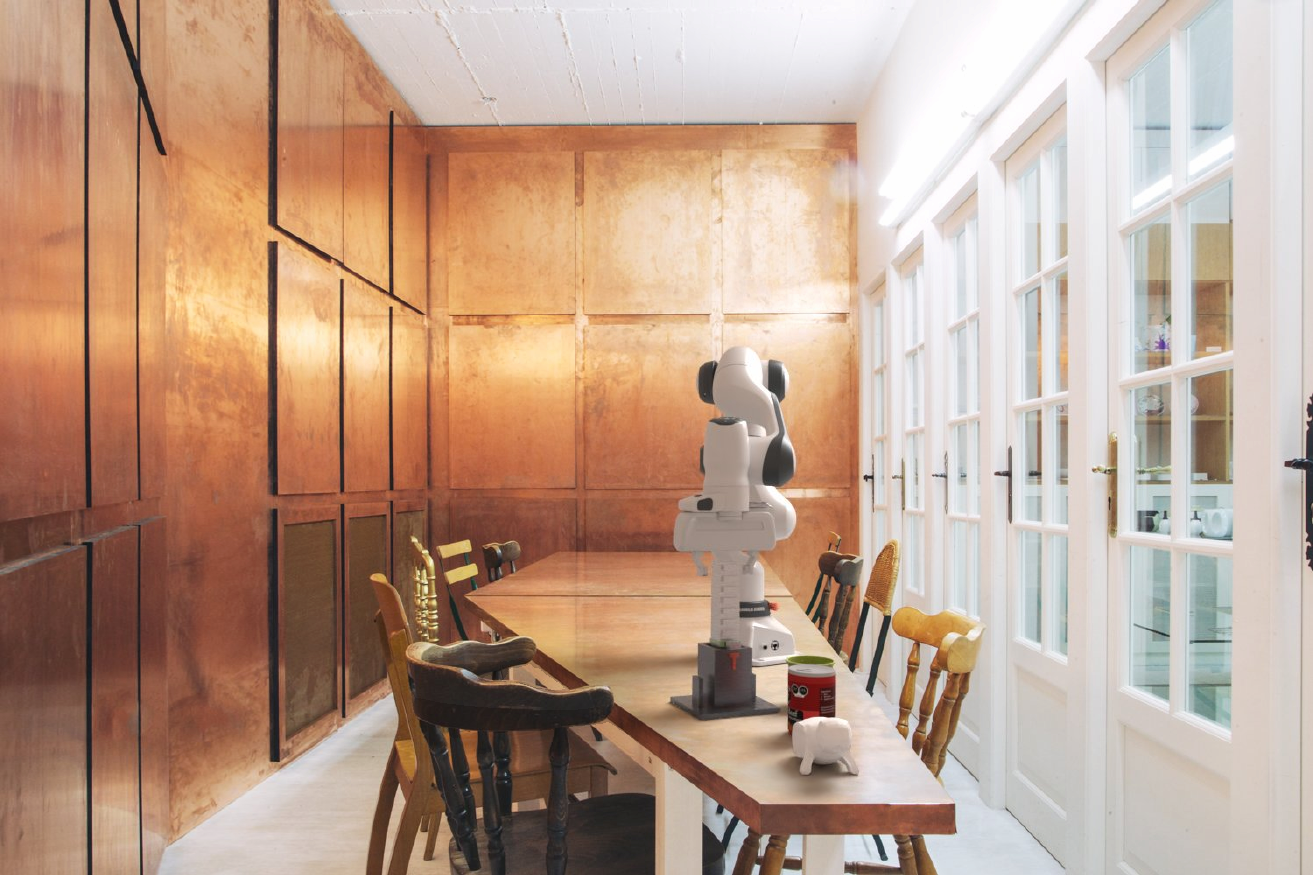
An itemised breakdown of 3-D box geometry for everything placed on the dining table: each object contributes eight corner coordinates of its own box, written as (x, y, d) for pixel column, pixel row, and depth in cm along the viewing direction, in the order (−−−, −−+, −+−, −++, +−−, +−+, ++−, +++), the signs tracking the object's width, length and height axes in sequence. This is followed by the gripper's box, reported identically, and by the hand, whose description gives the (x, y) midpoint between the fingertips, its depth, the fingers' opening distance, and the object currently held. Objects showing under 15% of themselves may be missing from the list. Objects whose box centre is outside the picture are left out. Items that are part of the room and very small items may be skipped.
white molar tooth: (788, 778, 136) (811, 771, 123) (784, 721, 140) (806, 707, 126) (843, 778, 137) (872, 770, 124) (837, 720, 141) (865, 707, 127)
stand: (744, 695, 176) (745, 629, 177) (780, 712, 163) (780, 641, 164) (670, 701, 171) (671, 633, 171) (700, 720, 158) (701, 646, 158)
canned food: (784, 727, 154) (785, 663, 154) (831, 728, 153) (831, 664, 154) (790, 740, 146) (790, 672, 147) (839, 741, 146) (839, 673, 146)
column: (729, 665, 170) (730, 560, 171) (741, 670, 166) (741, 562, 167) (709, 666, 169) (710, 560, 170) (720, 671, 164) (721, 562, 165)
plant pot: (780, 708, 167) (780, 661, 167) (791, 697, 175) (791, 653, 176) (830, 714, 163) (830, 666, 164) (839, 702, 172) (839, 657, 172)
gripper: (766, 501, 176) (765, 572, 175) (670, 501, 168) (669, 574, 167) (782, 502, 170) (781, 575, 169) (683, 502, 162) (682, 578, 162)
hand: (725, 575), depth 168 cm, fingers open, 8 cm apart
